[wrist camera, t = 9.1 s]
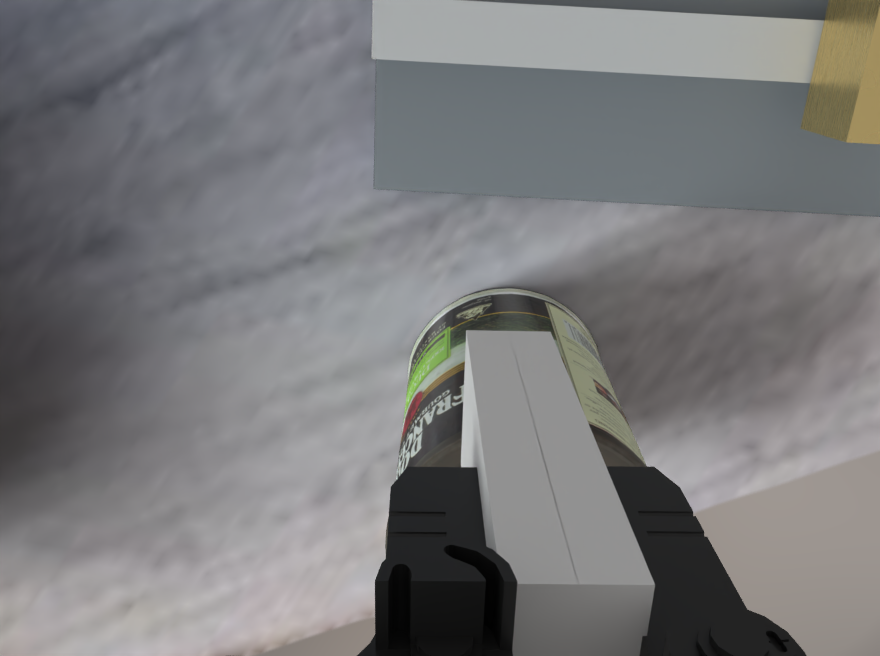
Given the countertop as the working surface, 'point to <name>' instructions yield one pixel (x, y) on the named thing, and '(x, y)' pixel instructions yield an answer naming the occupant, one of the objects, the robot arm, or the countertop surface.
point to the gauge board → (611, 104)
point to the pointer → (847, 74)
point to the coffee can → (443, 366)
